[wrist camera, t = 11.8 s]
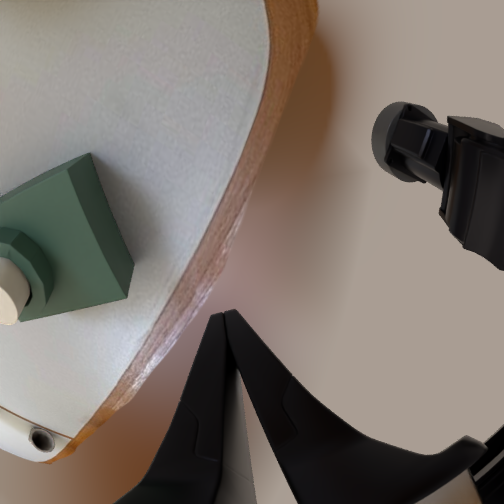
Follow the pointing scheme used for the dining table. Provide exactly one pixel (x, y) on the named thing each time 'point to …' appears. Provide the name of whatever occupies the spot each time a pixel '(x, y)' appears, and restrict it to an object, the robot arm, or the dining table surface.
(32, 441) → the long tapered cone
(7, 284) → the cream push button
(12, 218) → the green button housing
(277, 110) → the dining table surface
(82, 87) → the dining table surface
